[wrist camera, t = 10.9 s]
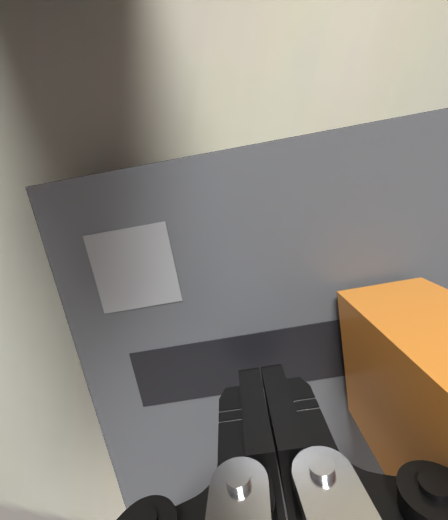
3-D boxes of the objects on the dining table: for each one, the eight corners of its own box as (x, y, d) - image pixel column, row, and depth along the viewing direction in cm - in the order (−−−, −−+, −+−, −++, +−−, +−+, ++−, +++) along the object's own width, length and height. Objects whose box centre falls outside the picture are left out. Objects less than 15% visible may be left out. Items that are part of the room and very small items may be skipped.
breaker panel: (150, 479, 17) (135, 540, 14) (67, 187, 14) (24, 186, 11) (520, 425, 16) (585, 478, 13) (534, 100, 13) (627, 73, 10)
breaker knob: (348, 409, 12) (462, 612, 6) (336, 291, 11) (461, 404, 5) (425, 398, 12) (612, 593, 6) (421, 277, 11) (643, 377, 5)
